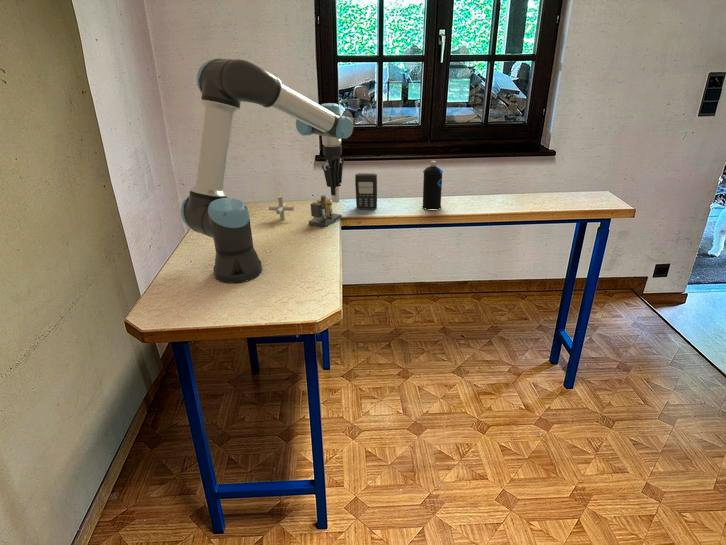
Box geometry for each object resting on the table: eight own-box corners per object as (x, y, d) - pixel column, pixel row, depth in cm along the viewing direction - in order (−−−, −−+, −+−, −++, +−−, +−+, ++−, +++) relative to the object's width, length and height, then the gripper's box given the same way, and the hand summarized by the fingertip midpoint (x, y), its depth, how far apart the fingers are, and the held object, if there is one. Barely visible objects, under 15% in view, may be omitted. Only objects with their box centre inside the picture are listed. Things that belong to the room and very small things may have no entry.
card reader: (355, 209, 206) (354, 175, 199) (356, 206, 209) (355, 172, 202) (376, 209, 205) (376, 175, 198) (377, 206, 208) (377, 172, 201)
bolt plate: (325, 227, 187) (323, 207, 183) (308, 224, 191) (307, 204, 187) (341, 218, 196) (340, 198, 193) (325, 215, 200) (324, 195, 196)
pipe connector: (297, 215, 200) (295, 192, 196) (291, 224, 192) (289, 200, 187) (274, 215, 201) (271, 192, 197) (267, 224, 192) (264, 200, 188)
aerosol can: (422, 210, 202) (424, 163, 193) (421, 204, 209) (422, 159, 200) (442, 210, 202) (444, 163, 193) (440, 204, 209) (442, 158, 200)
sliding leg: (329, 218, 191) (328, 198, 187) (317, 216, 193) (316, 196, 190) (334, 215, 194) (333, 196, 190) (322, 213, 196) (321, 194, 192)
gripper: (330, 149, 181) (334, 207, 192) (348, 142, 191) (351, 198, 202) (314, 147, 185) (319, 205, 196) (333, 140, 195) (336, 196, 205)
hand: (335, 201), depth 199 cm, fingers closed
